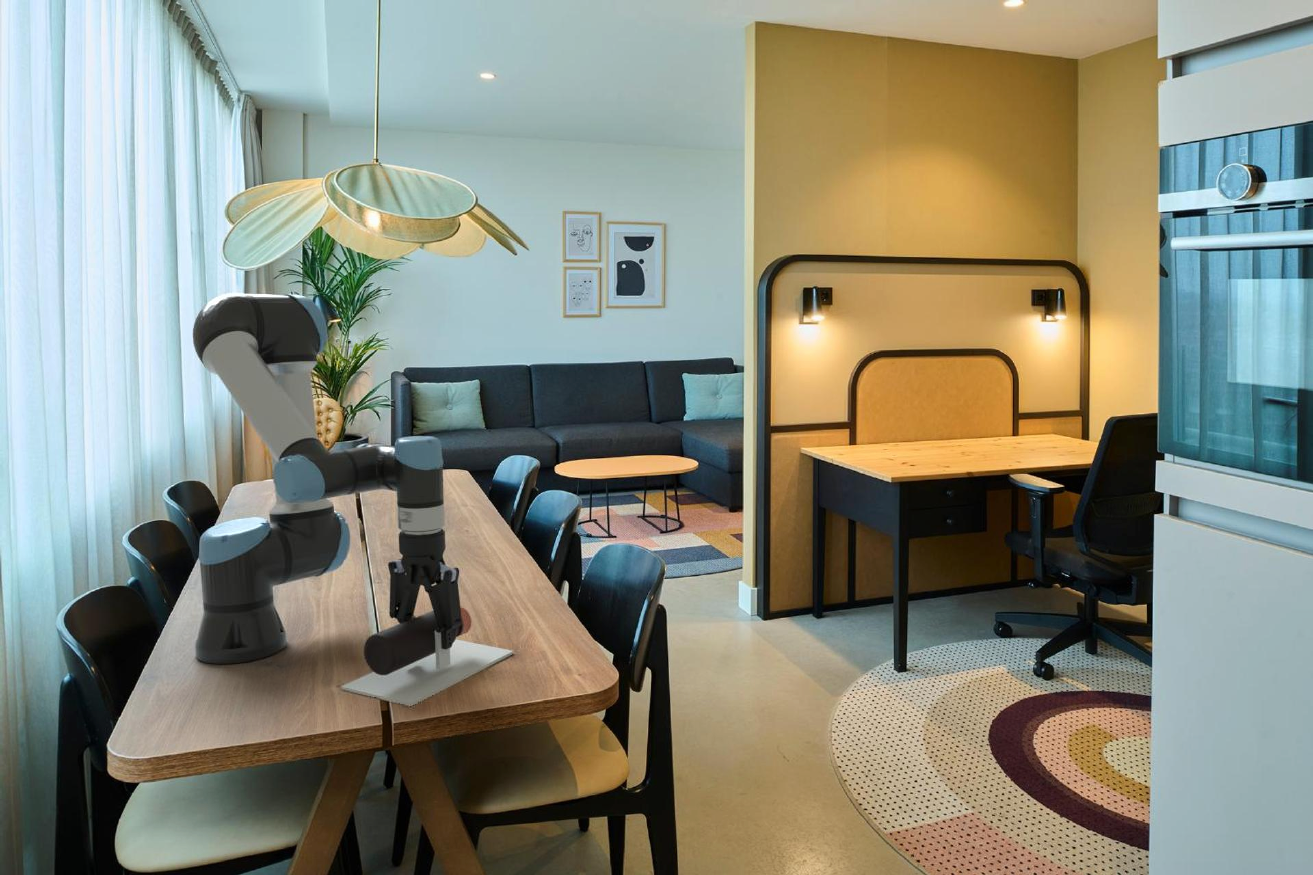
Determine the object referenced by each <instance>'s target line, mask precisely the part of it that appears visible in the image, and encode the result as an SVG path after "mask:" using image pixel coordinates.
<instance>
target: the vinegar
mask: <svg viewBox="0 0 1313 875" xmlns="http://www.w3.org/2000/svg"><path fill="white" fill-rule="evenodd" d="M460 608H461V617H462V624H461V625H459V626H457V627H455V628H453V629H452V644H453V643H454V641H455V639H456V638H458V637H460V636H463V635H465V634H467V633H468V632H469V631H470V630H471V628H472V618H471V615H470V613H469V611H468V610H467V609H466V608H464V607H462V606H460ZM437 629H439V628H438V625H437V622H436V618H435V615H434V611H433V610H431V611H428V612H426V613H424V614H422V615H418V616H416V617H415V618H413V619H411V620H408V621H406V622H403V623H401V624H400V623H399V624H396V625H394V626H391V627H388V628H385V629H383V630H381V631H379V632H376V633H374V634H371V635H370V636H368V637H367V639H366V640H365V643H364V647H363V655H364V659H365V663H366V665H367V666H368V668H369V669H370V670H371V671H372V672H375V673H376V674H379V675H388V674H390V673H392V672H394V671H397V670H399V669H401V668H403V667H405V666H408V665H410V664H412V663H414V662H416V661H419V660H421V659H423V658H425V657H427V656H429V655H432V654H434V653H436V652H435V631H436V630H437ZM456 640H457V639H456Z"/></svg>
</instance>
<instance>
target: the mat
mask: <svg viewBox="0 0 1313 875" xmlns="http://www.w3.org/2000/svg"><path fill="white" fill-rule="evenodd" d="M513 654H514V650H511V649H507V648H506V649H505V648H501V647H496V646H491V645H486V644H480V643H475V642H470V641H466V640H460V639H455V641H454V643H453V644H452V647H451V648H450V665H448V666H446V667H444V668H442V669H440V670H439V669H436V653H434V654H432V655H429V656H427V657H425V658H423V659H421V660H419V661H416V662H414V663H412V664H410V665H408V666H405V667H403V668H401V669H399V670H397V671H394V672H392V673H390V674H388V675H379V674H376V673H375V672H374V671H372V672H370V673H367V674H365V675H363V676H361V677H358V678H357V679H354V680H352V681H351V682H347V683H345V684H343V685H341V686H340V690H343V691H347V692H350V693H355V694H358V695H363V696H366V695H367V697H370V696H371V697H370V698H374V697H378V698H379V700H382V701H386V702H390V703H394V704H399V703H400V704H399V705H402V704H405V705H404V706H406V705H408V706H407V707H410V706H412V707H414V706H416V705H417V704H419V703H421V702H423V701H425V700H427V699H429V698H430V697H433V696H435V695H436V693H437V694H438V693H441V692H443V691H444V690H447V689H448V688H450V687H452V686H454V685H456V684H459V682H462V681H464V680H465V679H467V678H469V677H471V676H473V675H475V674H477V673H479V672H481V671H483V670H485V669H486V668H488V667H490V666H492V665H495V664H496V663H498V662H500V661H502V660H504V659H506V658H508V657H510V656H512V655H513ZM440 691H441V692H440ZM432 695H433V696H432ZM428 697H429V698H428ZM378 698H377V699H378ZM424 699H425V700H424ZM422 700H423V701H422ZM420 701H421V702H420ZM418 702H419V703H418ZM415 704H416V705H415ZM413 705H414V706H413Z"/></svg>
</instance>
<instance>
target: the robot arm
mask: <svg viewBox="0 0 1313 875" xmlns="http://www.w3.org/2000/svg"><path fill="white" fill-rule="evenodd" d="M192 339H193V340H192V341H193V342H192V343H193V347H194V350H195V353H196V355H197V357H198V359H199V360H200V362H201V363H202V365H203V367H204V368H205V369H206V370H207V371H208V372H210V373H211V374H214V375H217V376H218V378H220V380H221V382H222V384H223V385H224V386H225V388H226V389H227V391H228V392H229V393H230V395H231V397H232V398H233V399H234V401H235V403H236V404H237V406H238V407H239V408H240V411H241V412H242V413H243V414H244V416H245V417H246V419H247V421H249V423H250V425H251V426H252V428H253V429H254V431H255V432H256V433H257V435H258V437H259V439H261V441H262V442H263V444H264V446H266V449H267V450H268V451H269V453H270V457H271V466H272V468H271V469H272V478H273V479H272V480H273V484H274V493H275V503H274V505H273V506H272V507H271V509H269V511H268V512H269V513H268V515H269V521H268V519H266V518H264V517H259V516H252V517H250V516H249V517H244V518H235V519H231V520H227V521H223V522H221V523H219V524H216V525H214V526H210V528H207V529H206V531H205V530H204V532H203V533H202V535H201V536H200V538H199V547H198V548H199V549H198V550H199V552H198V553H199V554H198V561H199V568H200V579H201V580H200V581H201V593H202V594H201V595H202V604H203V605H202V606H203V615H202V618H201V621H200V625H199V630H198V635H197V638H196V640H195V643H194V645H195V646H194V648H195V649H194V650H195V657H196V659H197V660H198V661H201V662H204V663H208V664H214V665H215V664H216V665H217V664H218V665H227V664H239V663H245V662H246V663H247V662H251V661H256V660H260V659H263V658H266V657H270V656H273V655H274V654H277V653H279V652H281V651H282V650H283V649H284V648H285V647H286V646H287V632H286V629H285V627H284V625H283V622H282V619H281V618H280V615H279V613H278V611H277V608H276V605H275V603H274V588H273V587H276V586H279V585H283V584H288V583H292V582H295V581H299V580H303V579H308V578H312V577H316V578H317V577H321V576H323V575H325V574H328V573H332V572H334V571H336V570H338V569H339V568H340V567H342V565H343V564H344V562H345V561H346V560H347V557H348V554H349V553H350V548H351V532H350V531H351V530H350V527H349V524H348V523H347V522H346V518H345V517H344V515H343V514H342V513H340V512H338V511H335V506H334V503H333V502H332V501H331V500H329V499H331V498H335V497H337V498H338V497H341V496H347V495H354V494H361V493H367V492H373V491H378V490H386V491H387V490H388V491H392V492H396V500H397V501H396V504H397V522H398V525H397V526H398V529H399V530H400V531H399V533H398V552H399V554H400V555H401V558H398V559H395V560H392V561H390V562H388V563H387V566H388V567H387V568H388V571H389V575H390V578H389V580H390V581H389V582H390V583H389V609H388V610H389V613H388V614H389V617H390V618H391V619H396V620H397V623H399V624H401V623H403V622H406V621H408V620H411V619H413V618H416V617H417V616H415V615H414V614H415V610H416V606H417V602H418V598H419V597H418V596H419V594H420V593H419V592H420V588H421V586H422V587H423V588H424V591H425V593H427V594H428V596H429V601H430V604H431V607H432V611H434V615H435V618H436V622H437V625H438V628H439V629H437V630H436V631H435V652H436V669H439V670H440V669H442V668H444V667H446V666H448V665H450V648H451V647H452V629H453V628H455V627H457V626H459V625H461V624H462V617H461V608H460V607H461V600H460V599H461V598H460V590H459V582H458V581H459V578H460V576H459V575H460V569H459V567H453V568H451V566H450V567H449V566H448V565H446V562H445V559H444V553H445V551H446V531H445V529H443V528H444V527H445V526H446V521H445V504H444V500H445V499H444V494H445V493H444V472H443V471H444V468H443V467H444V459H443V453H442V451H443V450H442V444H441V443H442V442H441V440H439V438H438V437H435V436H429V435H426V436H425V435H424V436H422V435H415V436H414V435H412V436H403V437H400V438H397V439H396V440H395V442H394V445H388V444H384V443H383V444H382V443H379V442H378V443H377V442H374V443H362V444H359V445H358V446H356V447H355V448H354V447H353V448H347V449H338V450H331V451H330V450H328V449H327V448H326V447H325V446H324V444H323V443H322V441H321V440H320V438H319V437H318V430H317V422H316V412H315V403H314V395H313V387H312V385H313V384H312V378H311V373H312V370H313V369H314V368H315V367H316V366H317V365H318V357H317V356H318V355H319V354H322V352H324V350H325V348H326V346H327V345H326V342H327V340H328V327H327V322H326V319H325V316H324V314H323V312H322V310H321V309H320V307H319V305H317V304H316V303H315V302H314V300H312V299H311V298H309V297H308V296H304V295H297V294H290V293H239V292H237V293H236V292H232V293H226V294H222V295H219V296H217V297H214V298H213V299H211V300H209V302H207V303H206V304H205V305H204V306H203V307H202V308H201V309H200V311H199V313H198V314H197V316H196V318H195V320H194V324H193V328H192Z"/></svg>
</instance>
